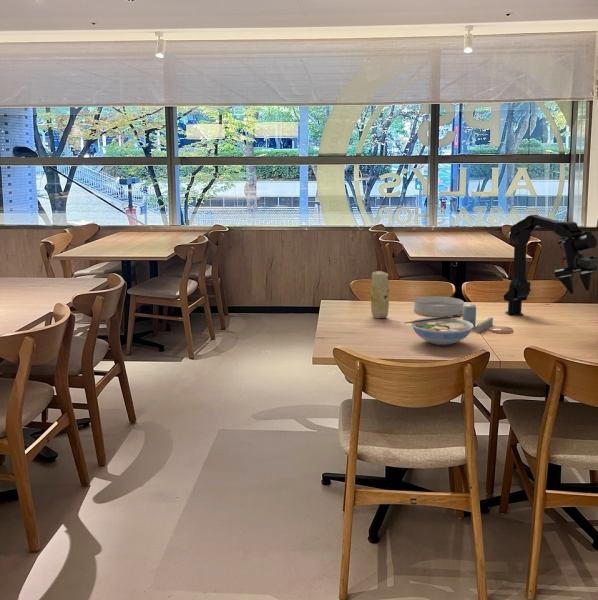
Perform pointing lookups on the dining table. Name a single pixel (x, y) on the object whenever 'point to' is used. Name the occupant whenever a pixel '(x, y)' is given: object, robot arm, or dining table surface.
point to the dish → (438, 306)
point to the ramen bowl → (442, 329)
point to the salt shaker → (470, 313)
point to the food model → (379, 294)
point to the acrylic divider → (484, 325)
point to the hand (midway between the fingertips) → (580, 292)
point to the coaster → (500, 329)
